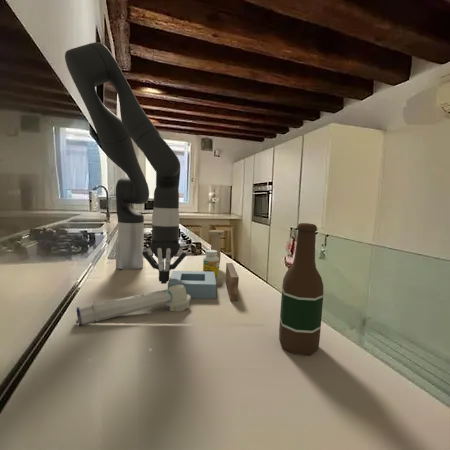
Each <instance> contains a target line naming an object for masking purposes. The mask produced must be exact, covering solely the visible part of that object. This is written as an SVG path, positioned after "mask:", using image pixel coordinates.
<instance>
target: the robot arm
mask: <svg viewBox="0 0 450 450" xmlns="http://www.w3.org/2000/svg"><path fill="white" fill-rule="evenodd" d="M64 61H65V63H66V67H67V71H68V73H69V75H70V76H71V79H72V81H73V83H74V85H75V87H76V89H77V92H78V93H79V96H80V97H81V99H82V102H83V103H84V106H85V107H86V109H87V111H88V114H89V117H90V119H91V121H92V124H93V126H94V129H95V131H96V135H97V137H98V140H99V143H100V145H101V147H102V150H103V152H104V154H105V155H106V157H108V159H109V160H110V161H111V162H113V164H115V165H116V166H117V167H118V168H119V169H121V170H122V171H123V172H124V173H125V175H127V177H128V178H127V177H126V178H125V177H124V178H119V179H118V180H117V182H116V184H115V206H116V217H117V242H115V269H118V270H123V271H124V270H128V271H129V270H130V271H131V270H139V269H142V268H143V267H144V258H145V259H146V261H147V262H148V263H149V266H151V268H152V269H154V270H157V271H158V281H159V282H160V284H161V285H162V284H163V285H164V284H165V285H166V284H168V282H169V279H170V276H171V275H170V274H171V273H170V271H171V270H172V271H173V270H175V269H176V268H177V267H178V266H179V265H180V263H181V262H182V261H183V260H184V259H185V258H186V256H187V251H186V250H185V251H184V250H183V249H182V248H181V245H180V241H179V239H180V235H179V234H180V222H181V221H180V210H179V207H180V206H179V205H180V195H179V193H180V192H179V191H180V190H179V187H180V178H181V177H180V176H181V163H180V162H181V161H180V158H178V155H177V154H176V153H175V152H174V151H173V149H172V148H171V147H170V145H168V143H167V142H166V141H165V140H164V138H163V137H162V135H161V134H160V132H159V131H158V129H157V128H156V126H155V125H154V123H153V121H151V120H150V117H148V115H147V114H146V112H145V111H144V108H142V106H141V105H140V102H139V101H138V98H136V96H135V94H134V91H133V89H132V88H131V85H130V84H129V82H128V81H127V80H128V79H126V77H125V75H124V72H123V71H122V69H121V67H120V66H119V63H118V62H117V60H116V59H115V57H114V56H113V54H112V52H111V51H110V50H109V48H108V47H107V46H106V45H105V44H103V42H89V43H87V44H83V45H80V46H76V47H73V48H70V49H67V50H66V51H65V53H64ZM107 83H109V84H111V85H112V87H113V89H114V90H115V92H116V94H117V98H118V103H119V111H120V117H119V116H117V114H115V113H113V111H111V110H110V109H109V108H108V107H106V105H105V104H104V103H103V102H102V100H101V98H100V97H99V95H98V92H97V90H96V87H99V86H100V85H103V84H107ZM133 142H134V143H133ZM134 144H135V145H136V146H137V148H138V149H139V150H140V151H141V152H142V154H143V155H144V157H145V158H146V160H147V161H148V163H149V164H150V165H151V168H153V170H154V172H155V188H154V190H153V191H154V192H153V209H152V215H151V220H152V223H151V243H150V244H149V247H148V248H147V249H144V238H145V237H144V232H145V231H144V228H145V227H144V226H145V222H144V221H145V216H144V215H143V213H141V212H138V211H136V210H135V209H133V208H132V205H134V204H135V205H142V204H146V203H147V202H148V201H149V199H150V189H149V185H148V184H149V183H148V181H147V179H146V177H145V175H144V173H143V170H142V168H141V165H140V162H139V160H138V156H137V154H136V151H135V147H134ZM153 255H154V256H155V257H156V258H157V260H156V259H155V258H154V257H153ZM175 255H177V256H178V257H177V258H176V259H175V261H174V262H173V263H171V262H172V259H173V258H174V257H175Z"/></svg>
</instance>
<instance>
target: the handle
mask: <svg viewBox="0 0 450 450" xmlns="http://www.w3.org/2000/svg"><path fill="white" fill-rule="evenodd" d="M207 234H208V236H210V237H211V245H210V250H216V251H217V255H216V256H217V257H218V258H219V265H220V263H221V256H222V255H221V238H222V236H224V235H225V230H221V229H219V230H218V229H213V230H212V229H211V230H207Z"/></svg>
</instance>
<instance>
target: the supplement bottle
mask: <svg viewBox="0 0 450 450" xmlns="http://www.w3.org/2000/svg"><path fill="white" fill-rule="evenodd" d="M204 252H205V254H204V255H205V256H204V257H203V259H202V261H203V262H202V271H209V272H214V273H215V280H217V279H219V271H220V270H219V269H220V264H219V258H218V257H217V256H216V255H217V251H216V250H211V249H206V250H205V251H204Z"/></svg>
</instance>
